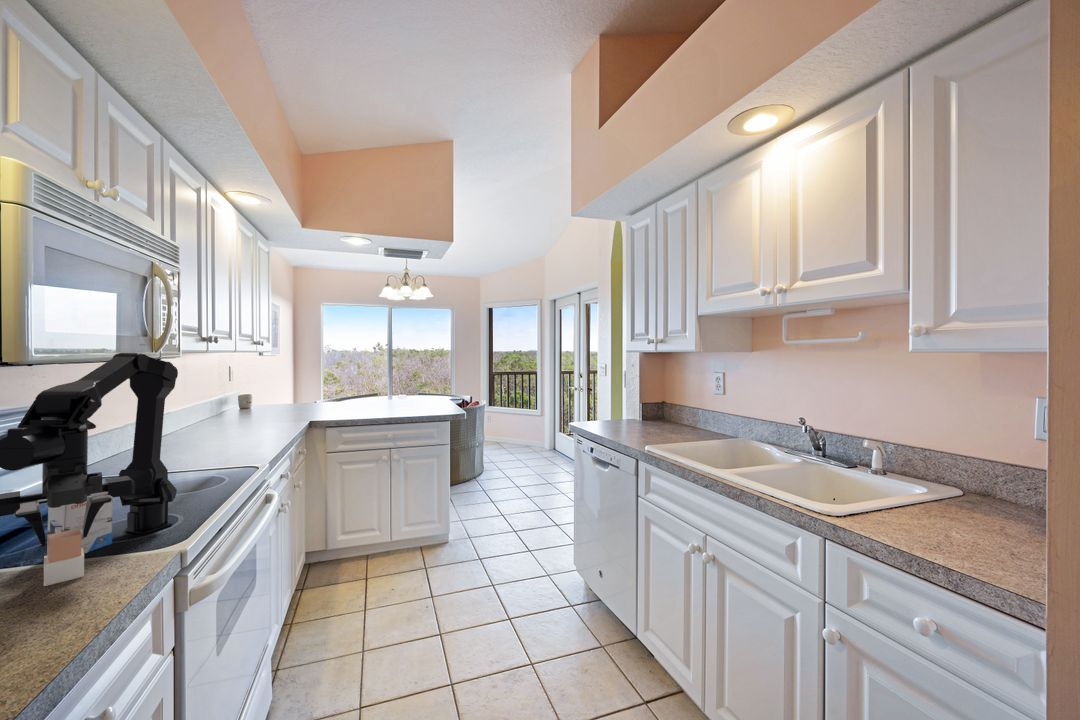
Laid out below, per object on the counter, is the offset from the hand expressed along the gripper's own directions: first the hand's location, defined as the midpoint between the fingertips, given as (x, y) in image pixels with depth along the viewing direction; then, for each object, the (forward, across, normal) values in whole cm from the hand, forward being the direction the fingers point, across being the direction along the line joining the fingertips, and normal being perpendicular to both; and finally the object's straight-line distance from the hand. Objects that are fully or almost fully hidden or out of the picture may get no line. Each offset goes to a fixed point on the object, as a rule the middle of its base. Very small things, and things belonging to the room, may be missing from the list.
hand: (64, 541), depth 83 cm
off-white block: (+7, 0, 0) cm, 7 cm away
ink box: (+7, +3, +13) cm, 15 cm away
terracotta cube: (+3, 0, 0) cm, 3 cm away
